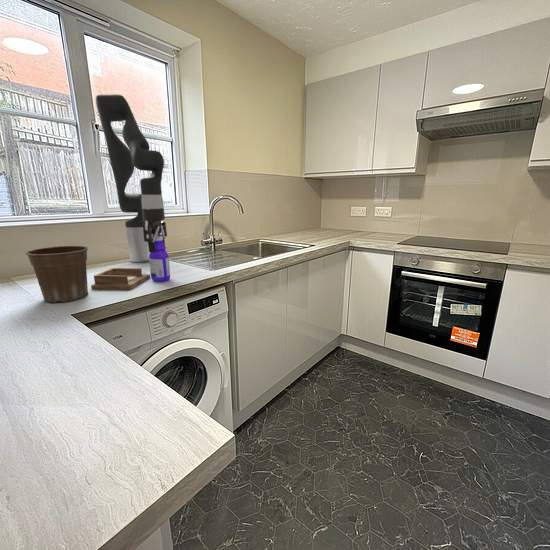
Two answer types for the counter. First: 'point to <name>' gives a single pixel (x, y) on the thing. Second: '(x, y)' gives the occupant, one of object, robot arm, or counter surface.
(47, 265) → the plant pot
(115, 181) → the robot arm
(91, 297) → the counter surface
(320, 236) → the counter surface
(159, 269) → the bottle
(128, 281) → the rail board
